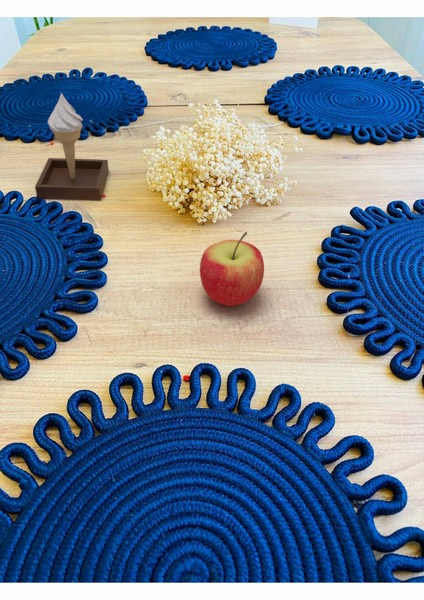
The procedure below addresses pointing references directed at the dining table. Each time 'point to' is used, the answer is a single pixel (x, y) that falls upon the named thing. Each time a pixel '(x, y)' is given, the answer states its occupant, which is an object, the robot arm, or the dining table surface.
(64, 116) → the ice cream cone
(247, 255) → the apple
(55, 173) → the tray
